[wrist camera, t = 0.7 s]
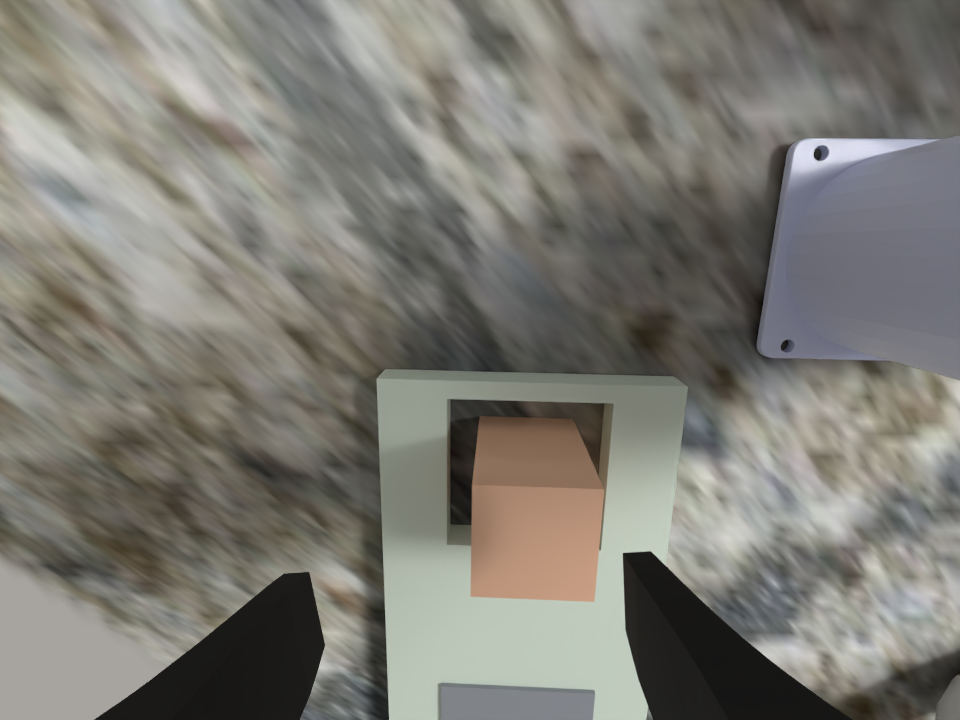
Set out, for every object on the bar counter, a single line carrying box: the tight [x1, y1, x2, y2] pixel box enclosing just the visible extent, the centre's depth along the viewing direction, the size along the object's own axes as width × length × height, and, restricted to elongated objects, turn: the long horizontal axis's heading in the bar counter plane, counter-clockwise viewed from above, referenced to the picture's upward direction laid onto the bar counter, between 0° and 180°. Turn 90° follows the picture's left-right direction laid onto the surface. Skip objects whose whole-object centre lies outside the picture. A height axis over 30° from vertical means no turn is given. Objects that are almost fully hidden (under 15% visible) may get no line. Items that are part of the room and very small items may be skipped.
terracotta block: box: [471, 416, 604, 602], centre depth 18 cm, size 4×4×6 cm
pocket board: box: [377, 369, 688, 720], centre depth 21 cm, size 12×22×2 cm, turn 179°
